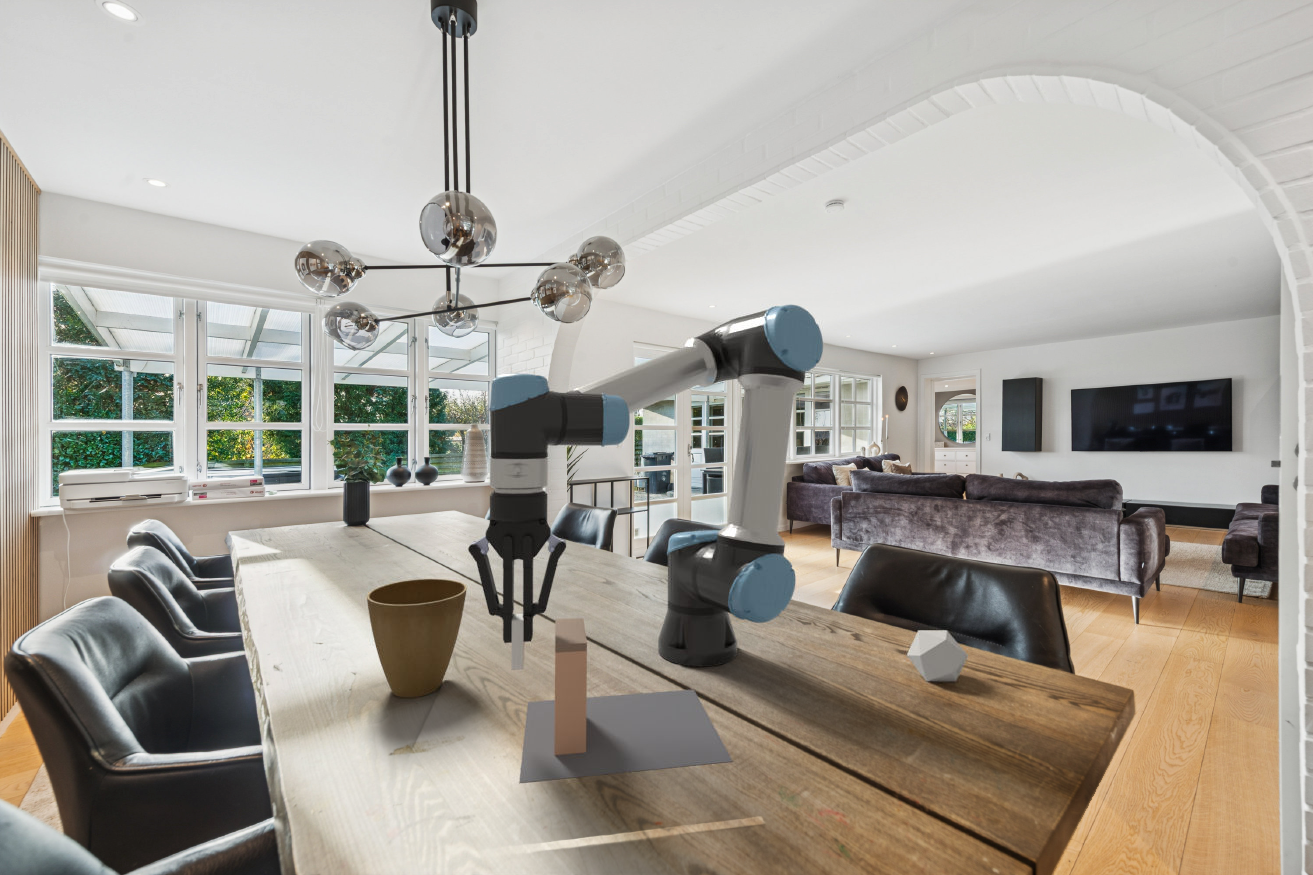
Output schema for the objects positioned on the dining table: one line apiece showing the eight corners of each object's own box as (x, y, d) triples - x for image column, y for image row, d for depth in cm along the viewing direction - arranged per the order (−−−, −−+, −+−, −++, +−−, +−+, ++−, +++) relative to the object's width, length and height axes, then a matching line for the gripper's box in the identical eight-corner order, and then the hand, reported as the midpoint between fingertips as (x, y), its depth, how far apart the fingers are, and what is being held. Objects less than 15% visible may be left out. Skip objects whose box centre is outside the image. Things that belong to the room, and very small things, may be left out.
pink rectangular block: (554, 715, 80) (555, 619, 80) (582, 713, 80) (583, 617, 80) (554, 755, 70) (555, 644, 70) (586, 752, 71) (586, 642, 71)
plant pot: (343, 700, 85) (344, 597, 85) (415, 663, 99) (416, 575, 99) (419, 717, 80) (420, 608, 80) (484, 676, 94) (485, 583, 94)
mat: (528, 705, 84) (528, 701, 84) (693, 693, 89) (693, 689, 89) (519, 787, 64) (519, 782, 64) (732, 765, 69) (732, 761, 69)
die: (963, 697, 89) (983, 643, 92) (913, 667, 91) (935, 615, 94) (938, 694, 97) (957, 644, 100) (892, 666, 98) (913, 617, 101)
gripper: (463, 493, 69) (462, 681, 69) (568, 492, 72) (567, 673, 71) (472, 487, 77) (471, 657, 77) (567, 486, 79) (566, 651, 79)
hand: (518, 665), depth 74 cm, fingers closed
